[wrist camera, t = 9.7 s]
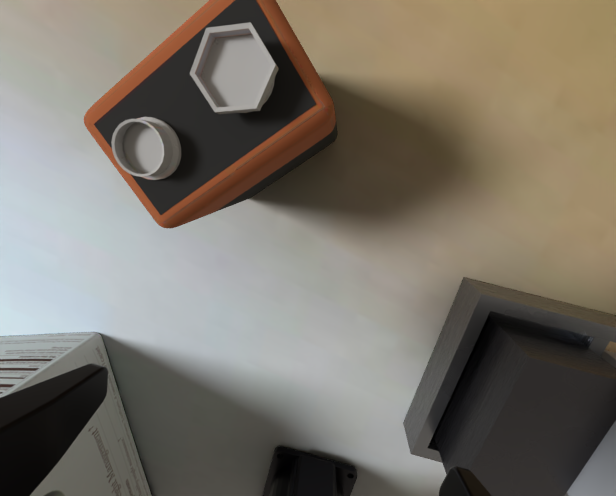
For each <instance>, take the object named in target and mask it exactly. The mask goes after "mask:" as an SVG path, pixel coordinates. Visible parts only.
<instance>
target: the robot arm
mask: <svg viewBox="0 0 616 496" xmlns="http://www.w3.org/2000/svg"><path fill="white" fill-rule="evenodd" d="M107 387H108V369H107V367H105V366H101V365H98V364H94V363H91V364H87V365H84V366H82V367H79V368H76V369H74V370H71V371H69V372H66V373H63V374H61V375H58V376H56V377H53V378H50V379H48V380H45V381H42V382H40V383H37V384H35V385H32V386H29V387H27V388H24V389H22V390H19V391H16V392H14V393H11V394H8V395H6V396H3V397H1V398H0V496H30V495H31V494H32V493H33V491H34V490H35V489H36V488H37V487H38V486H39V485H40V483H41V482H42V481H43V480H44V479H45V478H46V476H47V475H48V474H49V473H50V472H51V471H52V469H53V468H54V467H55V466H56V465H57V463H58V462H59V461H60V459H61V458H62V457H63V456H64V454H65V453H66V452H67V450H68V449H69V447H70V446H71V445H72V443H73V442H74V441H75V439H76V438H77V437H78V435H79V434H80V433H81V431H82V430H83V428H84V427H85V426H86V424H87V423H88V422H89V420H90V419H91V418H92V416H93V415H94V414H95V412H96V411H97V409H98V408H99V407H100V405H101V404H102V403H103V401H104V399H105V397H106V395H107ZM356 479H357V470H356V468H355V467H353V466H350V465H346V464H343V463H339V462H336V461H332V460H328V459H325V458H321V457H318V456H314V455H310V454H307V453H303V452H300V451H296V450H292V449H289V448H285V447H281V446H279V447H277V448H276V449H275V451H274V455H273V459H272V462H271V466H270V470H269V474H268V478H267V482H266V485H265V489H264V493H263V496H350V494H351V492H352V489H353V486H354V484H355V481H356ZM439 496H492V495H491V494H490V493H489V492H488V491H487V489H486V488H485V487H484V486H483V485H482V483H481V482H480V481H479V480H478V479H477V477H476V476H475V475H474V474H473V473H472V472H471V471H470V470H468V469H465V468H461V467H458V466H452V467H451V468H450V470H449V472H448V473H447V475H446V477H445V479H444V481H443V483H442V485H441V487H440V491H439Z"/></svg>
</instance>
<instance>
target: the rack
mask: <svg viewBox="0 0 616 496" xmlns="http://www.w3.org/2000/svg"><path fill="white" fill-rule="evenodd" d="M604 350H607V351H610V352H614V353H616V315H612V314H608V313H604V312H600V311H596V310H592V309H588V308H584V307H580V306H576V305H572V304H568V303H564V302H560V301H556V300H552V299H548V298H544V297H540V296H536V295H532V294H528V293H524V292H520V291H516V290H512V289H508V288H504V287H500V286H496V285H492V284H488V283H484V282H480V281H476V280H472V279H468V278H463V280H462V283H461V285H460V288H459V290H458V292H457V295H456V297H455V300H454V302H453V305H452V307H451V309H450V312H449V314H448V317H447V319H446V321H445V324H444V326H443V329H442V331H441V334H440V336H439V338H438V341H437V343H436V346H435V348H434V350H433V353H432V355H431V358H430V360H429V362H428V365H427V367H426V370H425V372H424V375H423V377H422V379H421V382H420V384H419V387H418V389H417V391H416V394H415V396H414V399H413V401H412V403H411V406H410V408H409V411H408V413H407V416H406V418H405V420H404V427H405V432H406V436H407V440H408V444H409V448H410V452H411V454H413V455H417V456H420V457H424V458H428V459H431V460H435V461H439V462H442V463H443V465H444V468H445V471H446V474H447V473H448V472H449V470H450V468H451V467H452V466H458V467H461V468H465V469H468V470H470V471H471V472H472V473H473V474H474V475H475V476H476V477H477V479H478V480H479V481H480V482H481V483H482V485H483V486H484V487H485V488H486V489H487V491H488V492H489V493H490V494H491V495H492V496H569V495H568V494H567V491H568V490H569V488H570V487H571V485H572V484H573V482H574V481H575V480H576V478H577V477H578V475H579V474H580V472H581V471H582V469H583V468H584V466H585V465H586V463H587V462H588V460H589V459H590V457H591V456H592V455H593V453H594V452H595V450H596V449H597V447H598V446H599V444H600V443H601V441H602V440H603V438H604V437H605V435H606V434H607V432H608V431H609V430H610V428H611V427H612V425H613V424H614V422H615V421H616V368H615V367H614V366H612V365H611V364H610V363H608V362H607V361H606V360H604V359H603V358H602V357H601V355H602V354H603V352H604Z"/></svg>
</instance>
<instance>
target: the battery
mask: <svg viewBox="0 0 616 496" xmlns="http://www.w3.org/2000/svg"><path fill="white" fill-rule="evenodd" d="M84 123H85V126H86V127H87V129H88V131H89V132H90V133H91V135H92V136H93V138H94V139H95V140H96V142H97V143H98V144H99V146H100V147H101V148H102V150H103V151H104V152H105V154H106V155H107V156H108V158H109V159H110V160H111V162H112V163H113V165H114V166H115V167H116V169H117V170H118V171H119V173H120V174H121V175H122V177H123V178H124V179H125V181H126V182H127V183H128V185H129V186H130V187H131V189H132V190H133V191H134V193H135V194H136V196H137V197H138V198H139V200H140V201H141V202H142V204H143V205H144V206H145V208H146V209H147V210H148V212H149V213H150V214H151V216H152V217H153V218H154V220H155V221H156V222H157V223H158V225H160V226H161V227H163V228H174V227H177V226H180V225H183V224H185V223H188V222H190V221H193V220H195V219H198V218H201V217H203V216H206V215H208V214H211V213H213V212H216V211H218V210H221V209H223V208H226V207H229V206H231V205H234V204H236V203H239V202H241V201H244V200H246V199H249V198H250V197H252V196H254V195H255V194H257V193H258V192H260V191H261V190H263V189H264V188H266V187H267V186H269V185H270V184H272V183H273V182H275V181H276V180H278V179H279V178H281V177H282V176H284V175H285V174H287V173H288V172H290V171H291V170H293V169H294V168H296V167H297V166H299V165H300V164H302V163H303V162H305V161H306V160H307V159H309V158H310V157H312V156H313V155H315V154H316V153H318V152H319V151H321V150H322V149H324V148H325V147H327V146H328V145H330V144H331V143H332V142H334V141H335V139H336V137H337V125H336V117H335V109H334V103H333V101H332V99H331V97H330V95H329V93H328V91H327V89H326V88H325V86H324V84H323V82H322V81H321V79H320V77H319V75H318V74H317V72H316V70H315V68H314V67H313V65H312V63H311V61H310V60H309V58H308V56H307V54H306V53H305V51H304V49H303V47H302V46H301V44H300V42H299V40H298V39H297V37H296V35H295V33H294V32H293V30H292V28H291V26H290V25H289V23H288V21H287V19H286V18H285V16H284V14H283V12H282V11H281V9H280V7H279V5H278V3H277V2H276V0H209V1H208V2H207V3H206V4H205V5H204V6H203V7H202V8H201V9H199V10H198V11H197V12H196V13H195V14H194V15H193V16H192V17H190V18H189V19H188V20H187V21H186V22H185V23H184V24H183V25H182V26H180V27H179V28H178V29H177V30H176V31H175V32H174V33H173V34H172V35H170V36H169V37H168V38H167V39H166V40H165V41H164V42H163V43H161V44H160V45H159V46H158V47H157V48H156V49H155V50H154V51H153V52H151V53H150V54H149V55H148V56H147V57H146V58H145V59H144V60H143V61H141V62H140V63H139V64H138V65H137V66H136V67H135V68H134V69H133V70H131V71H130V72H129V73H128V74H127V75H126V76H125V77H124V78H122V79H121V80H120V81H119V82H118V83H117V84H116V85H115V86H114V87H112V88H111V89H110V90H109V91H108V92H107V93H106V94H105V95H104V96H102V97H101V98H100V99H99V100H98V101H97V102H96V103H95V104H94V105H93V106H92V107H91V108H90V109H89V110H88V111H87V112H86V114H85V116H84Z"/></svg>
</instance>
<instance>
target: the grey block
mask: <svg viewBox="0 0 616 496" xmlns="http://www.w3.org/2000/svg"><path fill="white" fill-rule="evenodd" d="M601 357H602V358H603V359H604V360H606V361H607V362H608V363H610V364H611V365H612V366H614V367H615V368H616V353H614V352H610V351H607V350H604V352H603V354H602V355H601ZM567 494H568V495H569V496H616V421H615V422H614V424H613V425H612V427H611V428H610V430H609V431H608V432H607V434H606V435H605V437H604V438H603V440H602V441H601V443H600V444H599V446H598V447H597V449H596V450H595V452H594V453H593V455H592V456H591V457H590V459H589V460H588V462H587V463H586V465H585V466H584V468H583V469H582V471H581V472H580V474H579V475H578V477H577V478H576V480H575V481H574V482H573V484H572V485H571V487H570V488H569V490H568V491H567Z"/></svg>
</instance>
